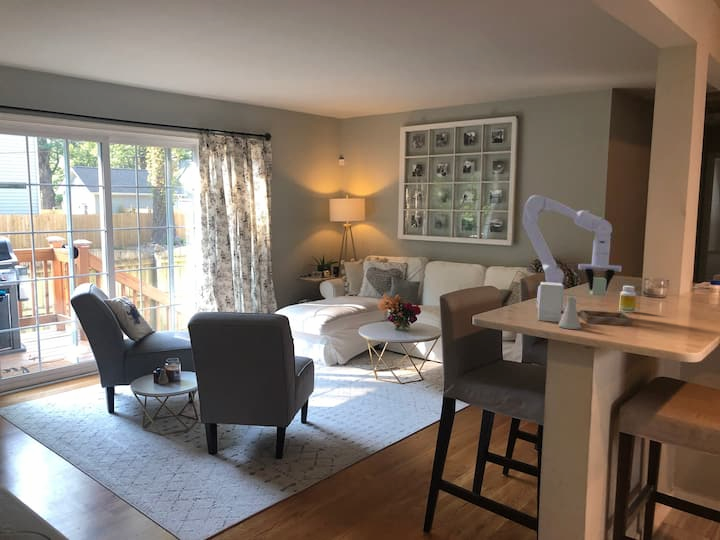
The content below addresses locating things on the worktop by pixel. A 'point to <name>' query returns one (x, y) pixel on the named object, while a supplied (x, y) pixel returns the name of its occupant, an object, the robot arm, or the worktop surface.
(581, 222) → the robot arm
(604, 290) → the sage block
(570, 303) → the flask
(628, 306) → the supplement bottle
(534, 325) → the worktop surface
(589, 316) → the tray
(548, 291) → the supplement box
